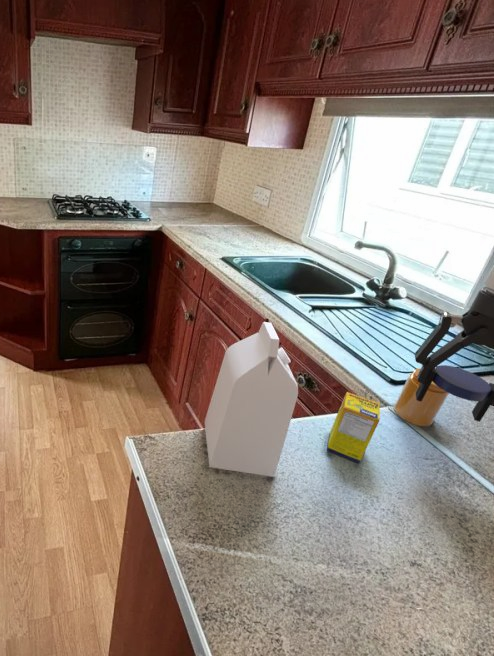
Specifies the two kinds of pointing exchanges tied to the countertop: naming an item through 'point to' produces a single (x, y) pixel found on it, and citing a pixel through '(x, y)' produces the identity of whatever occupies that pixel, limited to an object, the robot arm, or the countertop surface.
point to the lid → (461, 383)
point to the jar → (417, 410)
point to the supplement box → (353, 427)
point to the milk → (251, 405)
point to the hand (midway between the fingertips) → (446, 406)
